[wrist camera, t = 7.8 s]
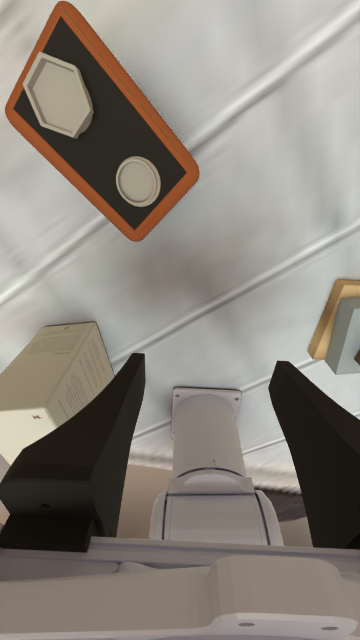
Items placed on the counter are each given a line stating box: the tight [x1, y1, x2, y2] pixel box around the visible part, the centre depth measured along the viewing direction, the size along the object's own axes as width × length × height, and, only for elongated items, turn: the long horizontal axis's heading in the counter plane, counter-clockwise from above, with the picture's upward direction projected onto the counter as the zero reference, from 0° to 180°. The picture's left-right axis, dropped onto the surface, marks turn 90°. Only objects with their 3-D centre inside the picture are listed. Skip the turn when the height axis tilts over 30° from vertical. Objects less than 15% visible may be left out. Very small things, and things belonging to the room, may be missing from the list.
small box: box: [0, 322, 115, 465], centre depth 22 cm, size 8×6×10 cm
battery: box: [5, 1, 199, 242], centre depth 13 cm, size 4×7×10 cm, turn 44°
